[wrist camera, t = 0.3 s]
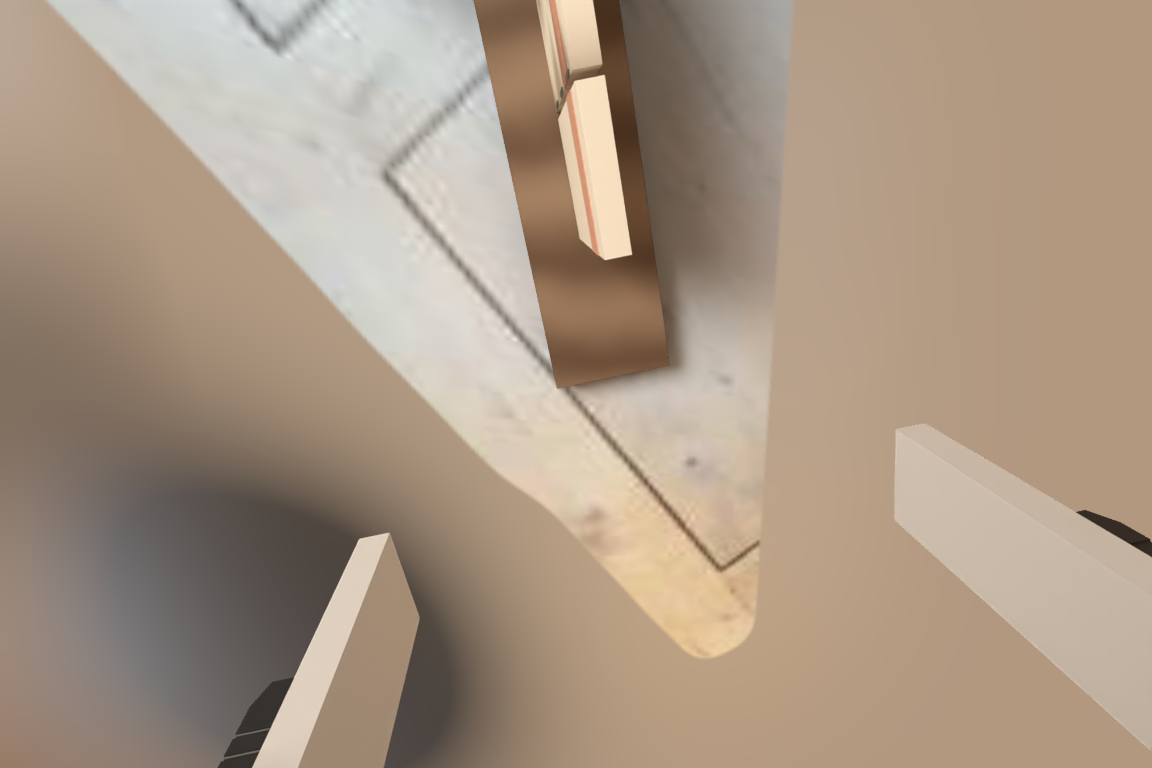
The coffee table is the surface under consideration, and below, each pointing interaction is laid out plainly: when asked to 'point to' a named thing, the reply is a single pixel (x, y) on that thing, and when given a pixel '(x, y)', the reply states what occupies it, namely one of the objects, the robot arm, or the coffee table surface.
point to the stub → (594, 169)
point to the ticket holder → (539, 173)
